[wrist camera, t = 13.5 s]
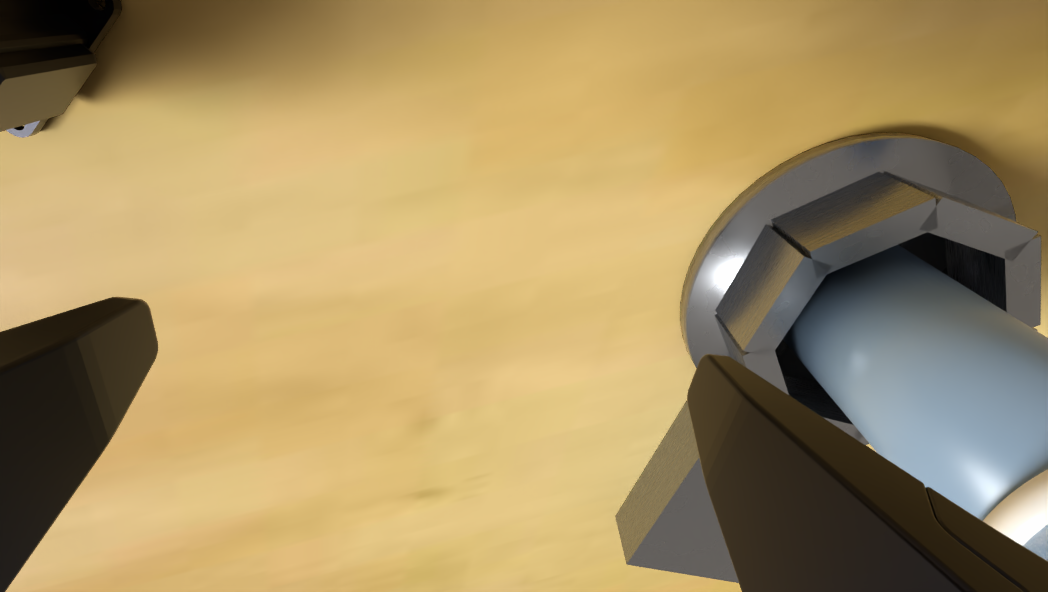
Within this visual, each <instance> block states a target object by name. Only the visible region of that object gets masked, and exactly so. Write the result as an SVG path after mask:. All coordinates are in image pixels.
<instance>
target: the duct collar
mask: <svg viewBox="0 0 1048 592" xmlns="http://www.w3.org/2000/svg"><path fill="white" fill-rule="evenodd" d="M1037 233H1038V231H1035V230H1033V229H1031V228H1028V227H1026V226H1024V225H1022V224H1019V223H1017V222H1016V217H1015V212H1014V208H1013V205H1012V202H1011V198H1010V196H1009V194H1008V192H1007V191H1006V189H1005V187H1004V185H1003V183H1002V181H1001V180H1000V179H999V178H998V177H997V176H996V174H995V173H994V172H993V171H992V170H991V169H990V168H989V167H988V166H987V165H985V164H984V163H983V162H982V161H980V160H979V159H978V158H976V157H975V156H973V155H971V154H969V153H967V152H965V151H963V150H961V149H959V148H957V147H954V146H951V145H948V144H945V143H942V142H939V141H936V140H932V139H929V138H925V137H922V136H919V135H911V134H903V133H871V134H864V135H858V136H851V137H847V138H843V139H840V140H836V141H832V142H829V143H825V144H823V145H820V146H818V147H815V148H813V149H810V150H808V151H805V152H803V153H801V154H799V155H797V156H795V157H793V158H792V159H790V160H788V161H786V162H784V163H782V164H780V165H779V166H777V167H776V168H774V169H773V170H771V171H770V172H768V173H767V174H765V175H764V176H762V177H761V178H759V179H758V180H757V181H756V182H754V183H753V184H752V185H751V186H750V187H748V188H747V189H746V190H745V191H744V192H742V193H741V194H740V195H739V196H738V197H737V198H736V199H735V200H734V201H733V202H732V203H731V204H730V205H729V206H728V207H727V208H726V209H725V211H724V212H723V213H722V214H721V215H720V217H719V218H718V219H717V220H716V222H715V223H714V224H713V226H712V227H711V228H710V229H709V231H708V232H707V234H706V236H705V237H704V239H703V241H702V242H701V244H700V245H699V247H698V249H697V251H696V253H695V255H694V257H693V260H692V262H691V264H690V266H689V269H688V272H687V275H686V278H685V282H684V285H683V290H682V296H681V302H680V323H681V330H682V336H683V339H684V342H685V346H686V349H687V351H688V353H689V355H690V357H691V359H692V361H693V363H694V364H695V366H696V368H697V366H698V364H699V361H700V359H701V358H702V357H703V356H704V355H706V354H717V355H726V356H729V357H731V358H733V359H734V360H736V361H737V362H739V363H740V364H742V365H743V366H745V367H746V368H748V369H749V370H751V371H752V372H754V373H756V374H757V375H759V376H760V377H762V378H763V379H765V380H766V381H768V382H769V383H771V384H772V385H774V386H775V387H777V388H779V389H780V390H782V391H783V392H785V393H786V394H788V395H789V396H791V397H792V398H794V399H795V400H797V401H798V402H800V403H801V404H803V405H805V406H806V407H808V408H809V409H811V410H812V411H814V412H815V413H817V414H818V415H820V416H821V417H823V418H824V419H826V420H828V421H829V422H831V423H832V424H834V425H835V426H837V427H838V428H840V429H841V430H843V431H844V432H846V433H847V434H849V435H851V436H852V437H854V438H855V439H857V440H858V441H860V442H861V443H863V444H864V445H867V444H869V442H868V441H867V440H866V439H865V438H864V436H863V435H862V434H861V433H860V432H859V430H858V429H857V428H856V427H855V426H854V424H853V423H852V422H851V421H850V420H849V418H848V417H847V416H846V415H845V414H844V412H843V411H842V410H841V409H840V408H839V406H838V405H837V404H836V403H835V402H834V400H833V399H832V398H831V397H830V396H829V394H828V393H827V392H826V391H825V390H824V388H823V387H822V386H821V385H820V384H819V382H818V381H817V380H816V379H815V378H814V376H813V375H812V374H811V373H810V372H809V370H808V369H807V368H806V367H805V366H804V364H803V363H802V362H801V361H800V360H799V358H798V357H797V356H796V355H795V354H794V352H793V351H792V350H791V349H790V348H789V346H788V345H787V344H786V343H785V342H784V340H783V338H784V336H785V335H786V333H787V332H788V331H789V329H790V328H791V326H792V325H793V323H794V322H795V320H796V319H797V317H798V316H799V314H800V313H801V311H802V310H803V308H804V307H805V306H806V304H807V303H808V301H809V300H810V298H811V297H812V295H813V294H814V292H815V291H816V289H817V288H818V286H819V285H820V283H821V282H822V281H823V279H824V278H825V276H826V275H827V274H829V273H831V272H833V271H836V270H838V269H841V268H843V267H845V266H848V265H850V264H853V263H855V262H857V261H860V260H862V259H864V258H867V257H869V256H872V255H874V254H876V253H879V252H881V251H884V250H886V249H888V248H891V247H893V246H896V245H899V246H901V247H902V248H904V249H906V250H907V251H909V252H910V253H912V254H914V255H915V256H917V257H918V258H920V259H922V260H923V261H925V262H926V263H928V264H930V265H931V266H933V267H934V268H936V269H938V270H939V271H941V272H942V273H944V274H946V275H947V276H949V277H950V278H952V279H954V280H955V281H957V282H959V283H960V284H962V285H963V286H965V287H967V288H968V289H970V290H971V291H973V292H975V293H976V294H978V295H979V296H981V297H983V298H984V299H986V300H987V301H989V302H991V303H992V304H994V305H995V306H997V307H999V308H1000V309H1002V310H1003V311H1005V312H1007V313H1008V314H1010V315H1012V316H1013V317H1015V318H1016V319H1018V320H1020V321H1021V322H1023V323H1024V324H1026V325H1028V326H1029V327H1031V328H1032V329H1034V330H1036V331H1037V329H1035V328H1034V327H1035V326H1038V325H1040V311H1041V236H1040V235H1038V234H1037ZM616 521H617V525H618V529H619V534H620V538H621V542H622V547H623V551H624V555H625V560H626V564H627V565H633V566H639V567H646V568H652V569H658V570H664V571H670V572H676V573H682V574H688V575H694V576H700V577H706V578H712V579H718V580H724V581H730V582H737V583H739V581H738V578H737V575H736V572H735V569H734V566H733V564H732V561H731V558H730V555H729V552H728V549H727V546H726V543H725V540H724V537H723V534H722V531H721V528H720V525H719V522H718V519H717V516H716V513H715V511H714V508H713V505H712V502H711V499H710V496H709V493H708V489H707V486H706V483H705V479H704V476H703V472H702V468H701V463H700V458H699V454H698V449H697V445H696V440H695V436H694V431H693V426H692V422H691V417H690V413H689V408H688V403H687V402H686V403H685V405H684V406H683V408H682V410H681V411H680V413H679V414H678V416H677V418H676V419H675V421H674V423H673V424H672V426H671V427H670V429H669V431H668V432H667V434H666V436H665V437H664V439H663V440H662V442H661V444H660V445H659V447H658V449H657V450H656V452H655V453H654V455H653V457H652V458H651V460H650V461H649V463H648V465H647V466H646V468H645V470H644V471H643V473H642V474H641V476H640V478H639V479H638V481H637V483H636V484H635V486H634V487H633V489H632V491H631V492H630V494H629V496H628V497H627V499H626V500H625V502H624V504H623V505H622V507H621V508H620V510H619V512H618V513H617V515H616Z"/></svg>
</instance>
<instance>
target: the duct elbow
mask: <svg viewBox="0 0 1048 592" xmlns="http://www.w3.org/2000/svg"><path fill="white" fill-rule="evenodd" d="M783 340H784V342H785V343H786V344H787V345H788V346H789V348H790V349H791V350H792V351H793V352H794V354H795V355H796V356H797V357H798V358H799V360H800V361H801V362H802V363H803V364H804V366H805V367H806V368H807V369H808V370H809V372H810V373H811V374H812V375H813V376H814V378H815V379H816V380H817V381H818V382H819V384H820V385H821V386H822V387H823V388H824V390H825V391H826V392H827V393H828V394H829V396H830V397H831V398H832V399H833V400H834V402H835V403H836V404H837V405H838V406H839V408H840V409H841V410H842V411H843V412H844V414H845V415H846V416H847V417H848V418H849V420H850V421H851V422H852V423H853V424H854V426H855V427H856V428H857V429H858V430H859V432H860V433H861V434H862V435H863V436H864V438H865V439H866V440H867V441H868V442H869V444H870V445H871V446H872V447H873V448H874V450H875V451H876V452H877V453H878V454H880V455H881V456H883V457H884V458H886V459H887V460H889V461H890V462H892V463H893V464H895V465H896V466H898V467H900V468H901V469H903V470H904V471H906V472H907V473H909V474H910V475H912V476H913V477H915V478H916V479H918V480H919V481H921V482H923V483H924V485H925V487H930V488H932V489H934V490H935V491H937V492H938V493H940V494H941V495H943V496H944V497H946V498H947V499H949V500H950V501H952V502H953V503H955V504H956V505H958V506H960V507H961V508H963V509H964V510H966V511H967V512H969V513H971V514H972V515H974V516H975V517H977V518H978V519H980V520H982V521H983V522H985V523H986V524H988V525H989V526H991V527H993V528H994V529H996V530H997V531H999V532H1001V533H1002V534H1004V535H1006V536H1007V537H1009V538H1011V539H1012V540H1014V541H1015V542H1017V543H1019V544H1020V545H1022V546H1024V547H1025V548H1027V549H1029V550H1030V551H1032V552H1034V553H1035V554H1037V555H1039V556H1040V557H1042V558H1044V559H1045V560H1047V561H1048V338H1047V337H1045V336H1044V335H1042V334H1040V333H1039V332H1037V331H1036V330H1034V329H1032V328H1031V327H1029V326H1028V325H1026V324H1024V323H1023V322H1021V321H1020V320H1018V319H1016V318H1015V317H1013V316H1012V315H1010V314H1008V313H1007V312H1005V311H1003V310H1002V309H1000V308H999V307H997V306H995V305H994V304H992V303H991V302H989V301H987V300H986V299H984V298H983V297H981V296H979V295H978V294H976V293H975V292H973V291H971V290H970V289H968V288H967V287H965V286H963V285H962V284H960V283H959V282H957V281H955V280H954V279H952V278H950V277H949V276H947V275H946V274H944V273H942V272H941V271H939V270H938V269H936V268H934V267H933V266H931V265H930V264H928V263H926V262H925V261H923V260H922V259H920V258H918V257H917V256H915V255H914V254H912V253H910V252H909V251H907V250H906V249H904V248H902V247H901V246H899V245H896V246H893V247H891V248H888V249H886V250H884V251H881V252H879V253H876V254H874V255H872V256H869V257H867V258H864V259H862V260H860V261H857V262H855V263H853V264H850V265H848V266H845V267H843V268H841V269H838V270H836V271H833V272H831V273H829V274H827V275H826V276H825V278H824V279H823V281H822V282H821V283H820V285H819V286H818V288H817V289H816V291H815V292H814V294H813V295H812V297H811V298H810V300H809V301H808V303H807V304H806V306H805V307H804V308H803V310H802V311H801V313H800V314H799V316H798V317H797V319H796V320H795V322H794V323H793V325H792V326H791V328H790V329H789V331H788V332H787V333H786V335H785V336H784V338H783Z"/></svg>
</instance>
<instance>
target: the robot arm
mask: <svg viewBox="0 0 1048 592" xmlns="http://www.w3.org/2000/svg"><path fill="white" fill-rule="evenodd" d="M105 4H106V5H105V9H103V8H101V7H100V6H99V5H98V3H97V1H96V0H0V132H1V131H5V130H6V131H8V132H9V133H11V134H13V135H15V136H17V137H22V138H23V137H28V136H32V135H35V134H37V133H38V132H39V131H40V130H41V129H42V127H43V126H44V124H45V123H46V121H47V120H48V119H49V118H51V117H55V116H58V115H61V114H63V113H64V111H65V110H66V108H67V107H68V106H69V104H70V103H71V101H72V100H73V98H74V97H75V96H76V94H77V93H78V91H79V90H80V88H81V87H82V85H83V84H84V83H85V81H86V80H87V78H88V77H89V75H90V74H91V73H92V71H93V70H94V68H95V67H96V65H97V60H96V54H94V51H95V50H96V49H97V47H98V46H99V44H100V43H101V41H102V40H103V38H104V37H105V35H106V34H107V32H108V31H109V30H110V28H111V27H112V25H113V24H114V22H115V21H116V19H117V18H118V16H119V15H120V13H121V10H122V6H121V1H120V0H105ZM22 125H25V126H22ZM157 352H158V341H157V337H156V333H155V328H154V324H153V320H152V316H151V311H150V308H149V306H148V304H147V303H146V302H145V301H143V300H141V299H134V298H124V297H112V298H108V299H105V300H102V301H98V302H95V303H92V304H89V305H85V306H82V307H79V308H76V309H73V310H69V311H66V312H63V313H60V314H57V315H53V316H50V317H47V318H44V319H41V320H37V321H34V322H31V323H28V324H25V325H21V326H18V327H15V328H12V329H9V330H5V331H2V332H0V592H5V591H6V590H7V588H8V587H9V586H10V584H11V583H12V581H13V580H14V578H15V577H16V576H17V574H18V573H19V571H20V570H21V568H22V567H23V566H24V564H25V563H26V561H27V560H28V558H29V557H30V556H31V554H32V553H33V551H34V550H35V548H36V547H37V546H38V544H39V543H40V541H41V540H42V538H43V537H44V536H45V534H46V533H47V531H48V530H49V528H50V527H51V526H52V524H53V523H54V521H55V520H56V518H57V517H58V516H59V514H60V513H61V511H62V510H63V509H64V507H65V506H66V504H67V503H68V501H69V500H70V499H71V497H72V496H73V494H74V493H75V491H76V490H77V489H78V487H79V486H80V484H81V483H82V481H83V480H84V479H85V477H86V476H87V474H88V473H89V471H90V470H91V469H92V467H93V466H94V464H95V463H96V461H97V460H98V459H99V457H100V456H101V454H102V453H103V451H104V450H105V448H106V447H107V445H108V444H109V442H110V440H111V439H112V437H113V435H114V434H115V432H116V430H117V429H118V427H119V425H120V423H121V421H122V420H123V418H124V416H125V414H126V412H127V410H128V409H129V407H130V405H131V403H132V401H133V399H134V398H135V396H136V394H137V392H138V390H139V388H140V387H141V385H142V383H143V381H144V379H145V377H146V376H147V374H148V372H149V370H150V368H151V366H152V365H153V363H154V361H155V359H156V356H157ZM687 403H688V408H689V413H690V417H691V422H692V426H693V431H694V436H695V440H696V445H697V449H698V454H699V458H700V463H701V468H702V472H703V476H704V479H705V483H706V486H707V489H708V493H709V496H710V499H711V502H712V505H713V508H714V511H715V513H716V516H717V519H718V522H719V525H720V528H721V531H722V534H723V537H724V540H725V543H726V546H727V549H728V552H729V555H730V558H731V561H732V564H733V566H734V569H735V572H736V575H737V578H738V581H739V584H740V587H741V590H742V592H1048V561H1047V560H1045V559H1044V558H1042V557H1040V556H1039V555H1037V554H1035V553H1034V552H1032V551H1030V550H1029V549H1027V548H1025V547H1024V546H1022V545H1020V544H1019V543H1017V542H1015V541H1014V540H1012V539H1011V538H1009V537H1007V536H1006V535H1004V534H1002V533H1001V532H999V531H997V530H996V529H994V528H993V527H991V526H989V525H988V524H986V523H985V522H983V521H982V520H980V519H978V518H977V517H975V516H974V515H972V514H971V513H969V512H967V511H966V510H964V509H963V508H961V507H960V506H958V505H956V504H955V503H953V502H952V501H950V500H949V499H947V498H946V497H944V496H943V495H941V494H940V493H938V492H937V491H935V490H934V489H932V488H930V487H925V485H924V483H923V482H921V481H919V480H918V479H916V478H915V477H913V476H912V475H910V474H909V473H907V472H906V471H904V470H903V469H901V468H900V467H898V466H896V465H895V464H893V463H892V462H890V461H889V460H887V459H886V458H884V457H883V456H881V455H880V454H878V453H877V452H875V451H873V450H872V449H870V448H869V447H867V446H866V445H864V444H863V443H861V442H860V441H858V440H857V439H855V438H854V437H852V436H851V435H849V434H847V433H846V432H844V431H843V430H841V429H840V428H838V427H837V426H835V425H834V424H832V423H831V422H829V421H828V420H826V419H824V418H823V417H821V416H820V415H818V414H817V413H815V412H814V411H812V410H811V409H809V408H808V407H806V406H805V405H803V404H801V403H800V402H798V401H797V400H795V399H794V398H792V397H791V396H789V395H788V394H786V393H785V392H783V391H782V390H780V389H779V388H777V387H775V386H774V385H772V384H771V383H769V382H768V381H766V380H765V379H763V378H762V377H760V376H759V375H757V374H756V373H754V372H752V371H751V370H749V369H748V368H746V367H745V366H743V365H742V364H740V363H739V362H737V361H736V360H734V359H733V358H731V357H729V356H726V355H717V354H706V355H704V356H703V357H702V358H701V359H700V361H699V364H698V366H697V369H696V372H695V374H694V377H693V379H692V382H691V385H690V387H689V390H688V395H687Z"/></svg>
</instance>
